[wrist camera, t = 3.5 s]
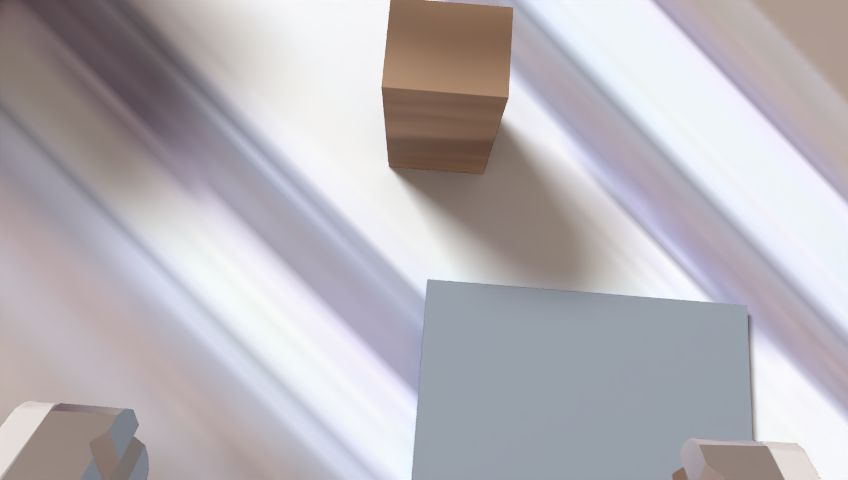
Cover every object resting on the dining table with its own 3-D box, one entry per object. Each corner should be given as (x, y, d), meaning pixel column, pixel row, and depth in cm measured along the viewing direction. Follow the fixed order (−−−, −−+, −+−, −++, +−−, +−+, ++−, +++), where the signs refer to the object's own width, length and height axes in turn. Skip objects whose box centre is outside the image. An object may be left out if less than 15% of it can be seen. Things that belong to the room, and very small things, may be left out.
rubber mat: (755, 660, 29) (762, 666, 28) (399, 632, 29) (399, 637, 28) (741, 307, 32) (747, 305, 32) (427, 281, 32) (427, 279, 32)
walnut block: (482, 174, 34) (508, 97, 25) (388, 166, 34) (381, 87, 25) (487, 99, 35) (513, 1, 26) (396, 92, 35) (391, -10, 26)
